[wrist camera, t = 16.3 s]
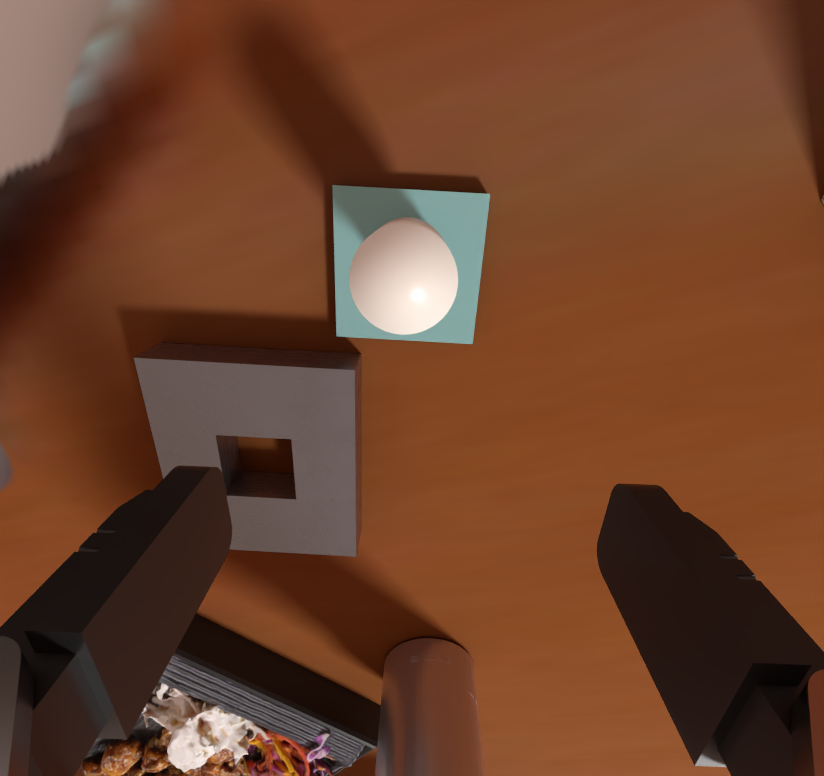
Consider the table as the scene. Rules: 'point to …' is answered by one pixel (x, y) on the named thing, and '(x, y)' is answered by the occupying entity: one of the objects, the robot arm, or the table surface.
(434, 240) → the cream rounded tapered piece
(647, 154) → the table surface
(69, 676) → the robot arm
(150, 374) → the socket block
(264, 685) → the food platter
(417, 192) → the teal square tile
